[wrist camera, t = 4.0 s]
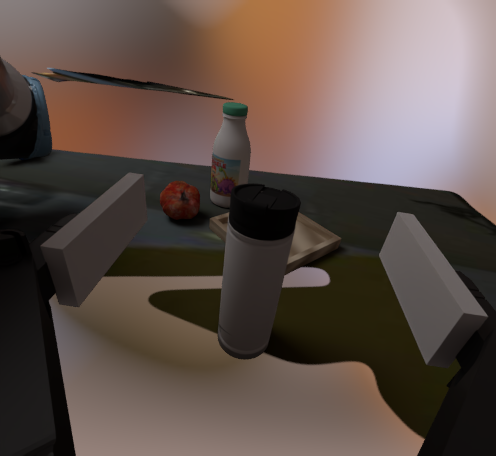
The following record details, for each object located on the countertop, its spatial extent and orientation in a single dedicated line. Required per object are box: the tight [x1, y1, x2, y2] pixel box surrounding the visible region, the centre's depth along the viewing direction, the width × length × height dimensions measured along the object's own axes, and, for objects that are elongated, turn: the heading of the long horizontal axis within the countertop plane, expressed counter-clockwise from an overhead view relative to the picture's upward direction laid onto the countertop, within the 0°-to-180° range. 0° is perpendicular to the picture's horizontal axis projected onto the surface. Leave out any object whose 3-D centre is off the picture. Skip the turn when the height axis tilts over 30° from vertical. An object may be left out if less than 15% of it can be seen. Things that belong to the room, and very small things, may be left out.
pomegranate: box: [160, 181, 200, 220], centre depth 57 cm, size 7×7×10 cm
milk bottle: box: [210, 102, 251, 208], centre depth 60 cm, size 8×8×20 cm
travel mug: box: [218, 184, 301, 359], centre depth 31 cm, size 6×7×20 cm
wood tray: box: [209, 213, 341, 275], centre depth 55 cm, size 17×17×2 cm
